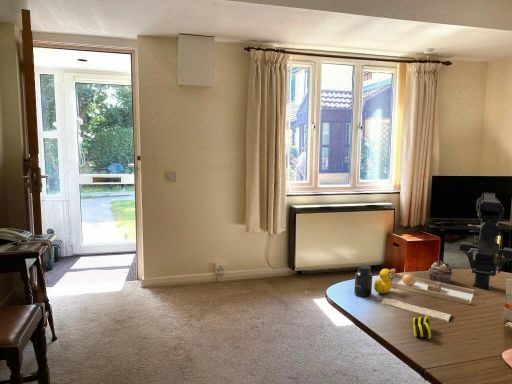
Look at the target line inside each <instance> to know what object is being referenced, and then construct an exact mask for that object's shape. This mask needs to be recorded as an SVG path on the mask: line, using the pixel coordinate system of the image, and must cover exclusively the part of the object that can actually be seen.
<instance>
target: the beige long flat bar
mask: <svg viewBox="0 0 512 384" xmlns="http://www.w3.org/2000/svg"><path fill="white" fill-rule="evenodd" d="M381 305H385V306H388V307H392V308H396V309H400V310H402V311H407V312H409V313H414V314H418V315H421V316H424V317H425V316H428V317H429V318H433V319H437V320H440V321H443V322H447V323H449V320H450V318H451V317H452V314H449V313H446V312H442V311H439V310H434V309H430V308H428V307H423V306H418V305H416V304H415V305H414V304H410V303H407V302H403V301H399V300H395V299H391V298H387V297H384V298H383V300H382V301H381Z"/></svg>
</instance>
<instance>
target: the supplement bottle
mask: <svg viewBox="0 0 512 384" xmlns="http://www.w3.org/2000/svg"><path fill="white" fill-rule="evenodd" d="M372 289H373V274H372V273H371V266H369V265H366V264H361V265H358V267H357V272H356V273H355V274H354V290H353V291H354V295H356V296H357V297H359V298H364V297H365V298H366V297H367V298H370V297H371V295H372V292H373V291H372ZM365 298H364V299H365Z"/></svg>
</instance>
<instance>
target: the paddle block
mask: <svg viewBox="0 0 512 384" xmlns="http://www.w3.org/2000/svg"><path fill="white" fill-rule="evenodd" d="M428 290H429V291H434V292H438V293H439V292H440V290H441V282H436V281H431V282H430V283H429V285H428Z"/></svg>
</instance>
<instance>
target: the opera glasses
mask: <svg viewBox="0 0 512 384" xmlns="http://www.w3.org/2000/svg"><path fill="white" fill-rule="evenodd" d="M412 322H413V323H412V329H413V330H412V331H413V335H414V338H415V337H418V338H419V337H420V338H426V339H428V340H430V339H431V337H432V331H431V325H432V324H431V323H432V321H431V317H428V316H425V315H424V317H422V316H419V317H413V320H412Z"/></svg>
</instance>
